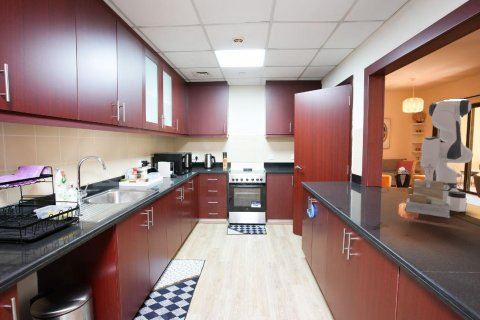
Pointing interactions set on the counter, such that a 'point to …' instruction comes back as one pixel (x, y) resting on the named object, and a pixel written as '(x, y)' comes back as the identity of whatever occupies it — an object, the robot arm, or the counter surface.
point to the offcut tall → (417, 198)
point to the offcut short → (438, 203)
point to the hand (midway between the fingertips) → (428, 186)
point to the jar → (456, 201)
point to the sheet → (429, 190)
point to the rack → (428, 208)
